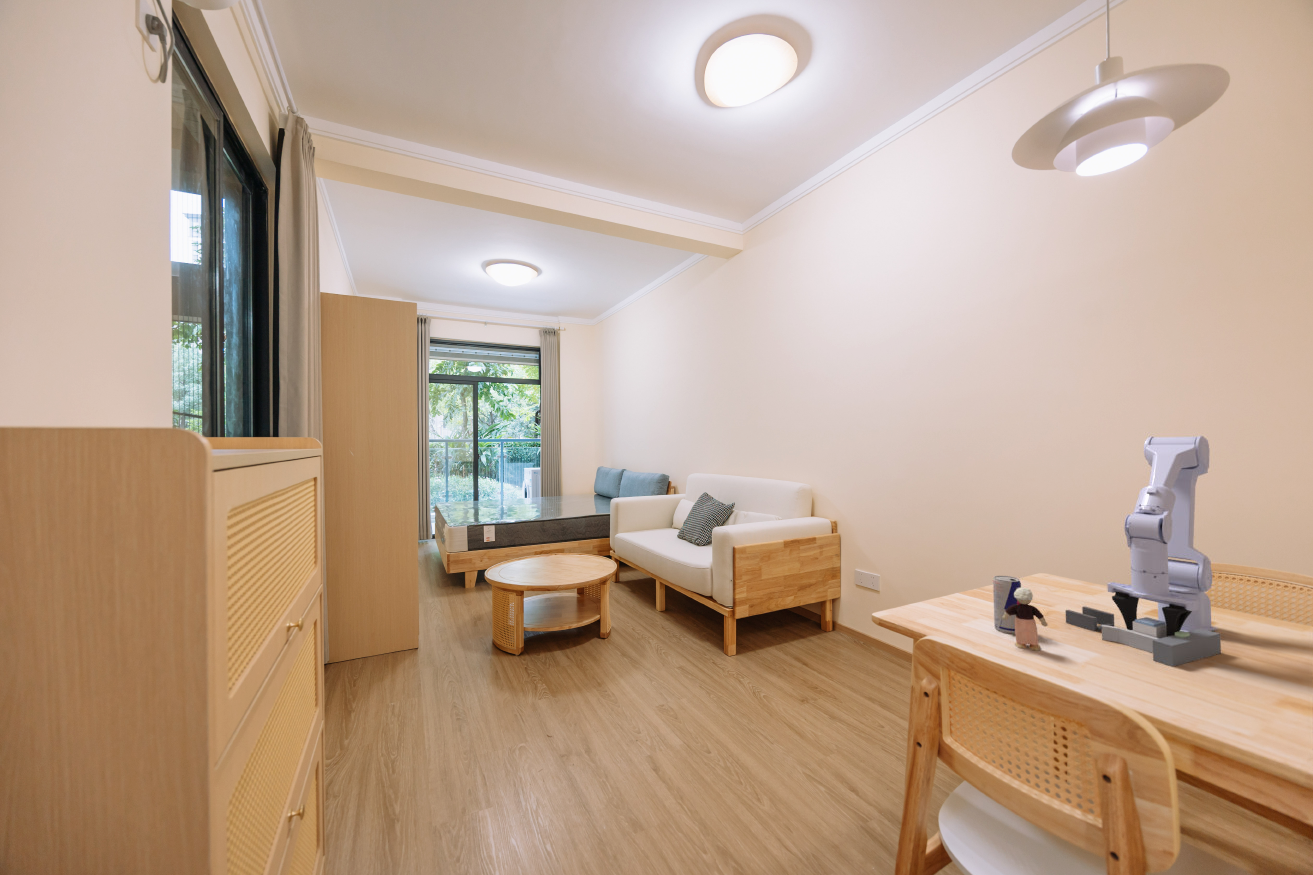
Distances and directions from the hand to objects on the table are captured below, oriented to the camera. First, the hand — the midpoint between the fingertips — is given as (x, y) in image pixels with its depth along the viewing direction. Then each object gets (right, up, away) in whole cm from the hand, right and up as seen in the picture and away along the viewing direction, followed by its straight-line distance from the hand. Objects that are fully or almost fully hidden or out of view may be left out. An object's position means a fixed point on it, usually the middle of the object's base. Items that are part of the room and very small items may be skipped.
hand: (1151, 634), depth 107 cm
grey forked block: (0, -2, 0) cm, 2 cm away
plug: (0, -3, 0) cm, 3 cm away
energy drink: (-23, -3, +11) cm, 25 cm away
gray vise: (+1, -3, +14) cm, 14 cm away
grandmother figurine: (-26, -3, +1) cm, 26 cm away
